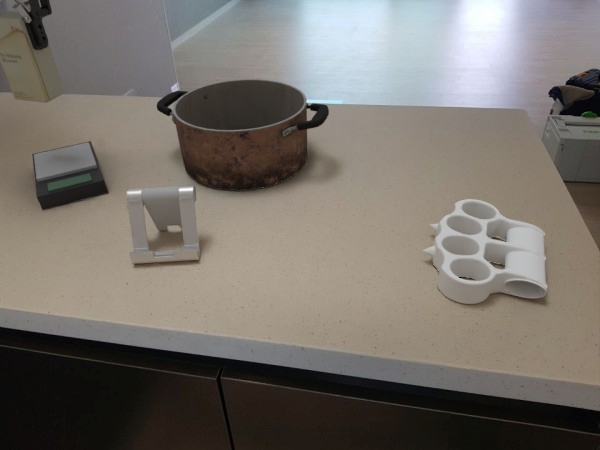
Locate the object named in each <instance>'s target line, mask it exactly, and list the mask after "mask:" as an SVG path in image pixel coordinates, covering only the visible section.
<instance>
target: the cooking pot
mask: <svg viewBox="0 0 600 450" xmlns="http://www.w3.org/2000/svg"><path fill="white" fill-rule="evenodd" d="M172 104H173V107H172V108H170V106H171V105H172ZM308 109H309V110H310V111H311V112H315V113H314V115H313V116H312V118H311V119H310V120H308V111H307V110H308ZM156 110H157V111H158V112H160V113H162V114H163V115H165V116H167V117H171V121H172V123H173V125H175V128H176V129H175V130H176V132H177V134H176V135H177V138H178V143H179V148H180V153H181V157H182V162H183V167H184V169H185V171H186V173H187V174H188V175H189V176H190V177H192V179H194V180H195V181H197V182H198V183H200V184H203V185H204V186H207V187H211V188H214V189H218V190H225V191H251V189H252V190H257V188H258V189H263V188H262V187H264V188H268V187H271V186H274V184H275V185H277V184H280V183H282V182H284V180H285V181H286V180H289V179H290V178H291V176H292V177H293V176H294V175H295V173H296V174H298V172H299V171H300V170H301V169H302V168H303V166H304V165H305V164H306V162H307V159H308V130H311V129H315V128H319V127H320V126H322V125H323V124H324V123H325V122H326V120H327V118H328V117H329V114H330V109H329V106H328V105H326V104H323V103H313V102H312V103H311V104H309V102H308V101H307V97H306V94H305V93H304V92H303V91H302V90H301V89H300V88H297V87H296V86H295V85H294V86H293V85H290V84H288V83H285V82H281V81H277V80H271V79H260V78H244V79H230V80H224V81H223V80H222V81H217V82H213V83H210V84H206V85H202V86H200V87H197V88H194V89H192V90H190V91H185V90H175V91H171V92H170V93H168V94H166V95H165V96H163V97H162V98H160V99H159V100H158V101H157V103H156ZM281 181H282V182H281ZM279 182H280V183H279ZM276 183H277V184H276ZM270 185H271V186H270ZM267 186H268V187H267Z"/></svg>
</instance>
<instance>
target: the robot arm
mask: <svg viewBox="0 0 600 450" xmlns="http://www.w3.org/2000/svg"><path fill="white" fill-rule="evenodd" d="M5 1H6V3H7V4H8V5H9V6H10V7H11V8H13V9H15V11H18V12H19V14H20V15H21V16H22V18H23V19H24V20H25V21H26V22H27V23H25V26H26V29H27V32H28V35H29V37H30V40H31V43H32V46H33V48H34V49H35V50H42V49H44V48H47V47H48V43H49V37H48V36H47V35H48V34H47V32H46V28H45V25H44V23H43V19H44V18H46V17H47V16H50V15H51V16H52V13H53V10H52V6H51V2H50V0H5ZM0 3H2V0H0Z"/></svg>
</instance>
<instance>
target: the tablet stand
mask: <svg viewBox="0 0 600 450" xmlns="http://www.w3.org/2000/svg"><path fill="white" fill-rule="evenodd" d="M125 194H126V196H125V197H126V206H127V211H128V218H129V219H128V220H129V225H130V233H131V240H132V248H133V250H132V251H131V252H129V253H128V254H129V258H130V263H131V264H133V265H135V264H141V265H143V264H151V263H152V264H153V263H165V262H167V263H168V262H182V261H190V262H191V261H198V260H200V257H201V253H200V251H201V250H200V242H199V233H198V232H199V231H198V222H197V214H196V206H195V205H196V201H197V190H196V186H195V185H180V186H179V185H178V186H161V187H145V188H144V187H143V188H141V187H140V188H128V189H127V190H126V193H125ZM145 209H146V211H147V212H148V214H149V216H150V219H151V220H152V222H153V224H154V226H155V227H156V229H157V231H160V232H163V231H168V230H169V227H171V226H178V227H179V228H180V229H181V230H182V239H183V248H175V249H172V250H171V251H156V252H155V250H150V248H149V240H148V233H147V225H146V224H147V223H146V216H145Z"/></svg>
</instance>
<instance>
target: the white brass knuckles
mask: <svg viewBox="0 0 600 450" xmlns="http://www.w3.org/2000/svg"><path fill="white" fill-rule="evenodd" d="M428 226H429V227H430V228H431V229H432V230H433V231H434V233H436V234H435V237H434V240H433V245H432V246H429V247H427V248H425V249H422V250H421V252H423V253H424V254H426V255H428V256H429V257H431V261H432V266H433V265H434V266H435V267H436V268H437V269H436V268H435V267H434V266H433V267H434V268H435V269H436V270H437V272H438V271H439V272H438V277H437V283H436V286H437V288H438V291H440V293H441V294H442V295H443V296H445V297H446V298H448V299H449V300H451V301H453V302H456V303H459V304H465V305H475V304H479V303H482V302H484V301H486V300H487V298H489V296H490V295H492V294H498V293H501V294H506V295H510V296H513V297H519V298H524V299H543V298H545V296H546V295H547V291H548V287H549V286H548V284H547V278H546V277H547V276H546V261H547V257H546V255H545V236H546V232H545V231H543V229H541V228H540V227H539V226H537V225H535V224H532V223H528V222H525V221H521V220H516V219H510V218H507V216H506V217H505V216H504V215H502V214H501V213H500V211H499V210H498V208H497V207H496V206H495V205H492V204H491V203H490V202H487V201H485V200H480V199H476V198H475V199H474V198H466V199H461V200H458V201H457V202H455V203H454V205H453V209H452V212H451V213H448V214H445V215H444V216H443V217H442V219H441V220H439V222H438V223H430V224H428ZM462 233H463V234H462ZM492 236H500V237H501V238H502V239H505V240H506V242H505V241H502V240H500V239H495V238H490V237H492ZM452 253H453V254H452ZM456 254H462V255H456ZM488 261H491V262H496V263H500V264H505V266H504V268H503V269H499V268H496V267H494V265H492V263H490V262H488ZM459 277H466V278H459ZM469 278H472V279H469ZM473 279H474V280H473ZM475 280H476V281H475Z"/></svg>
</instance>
